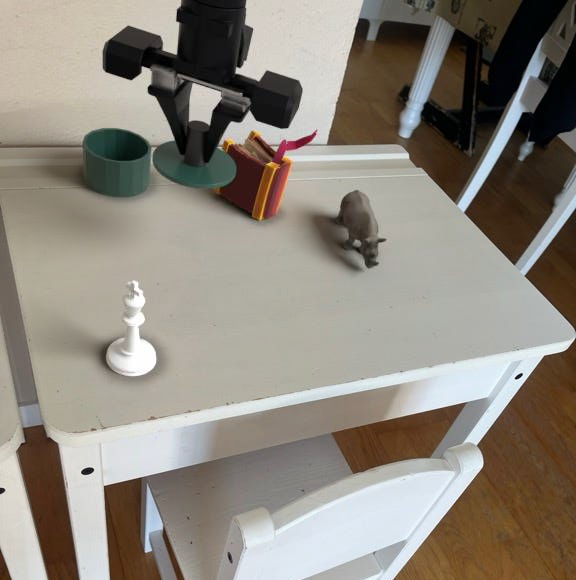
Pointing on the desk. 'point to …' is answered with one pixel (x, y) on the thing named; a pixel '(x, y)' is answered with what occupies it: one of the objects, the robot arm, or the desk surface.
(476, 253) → the desk surface
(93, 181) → the pot
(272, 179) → the book monster
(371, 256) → the rhino figurine
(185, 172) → the pot lid
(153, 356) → the chess piece
